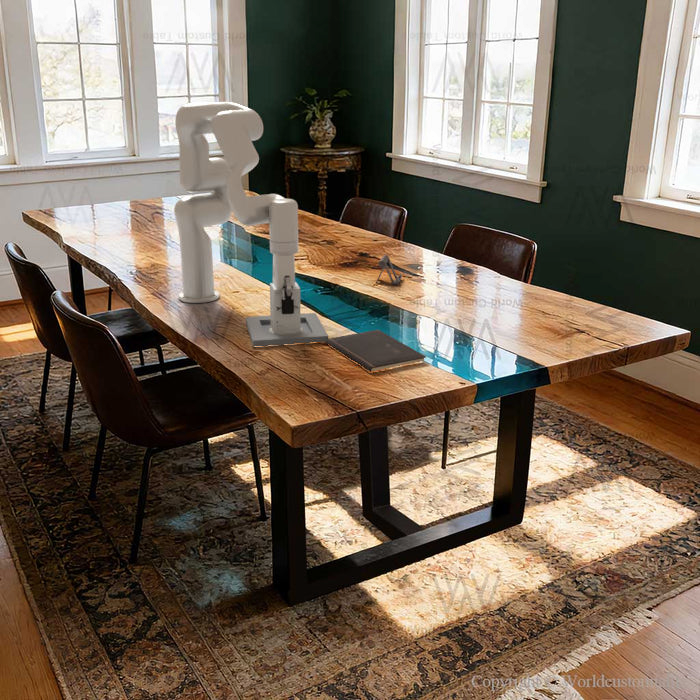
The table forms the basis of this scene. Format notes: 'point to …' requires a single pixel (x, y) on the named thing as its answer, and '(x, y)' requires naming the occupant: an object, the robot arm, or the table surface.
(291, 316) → the supplement box
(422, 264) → the table surface
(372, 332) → the hardcover book
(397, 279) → the portable electronic device stand
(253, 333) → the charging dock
